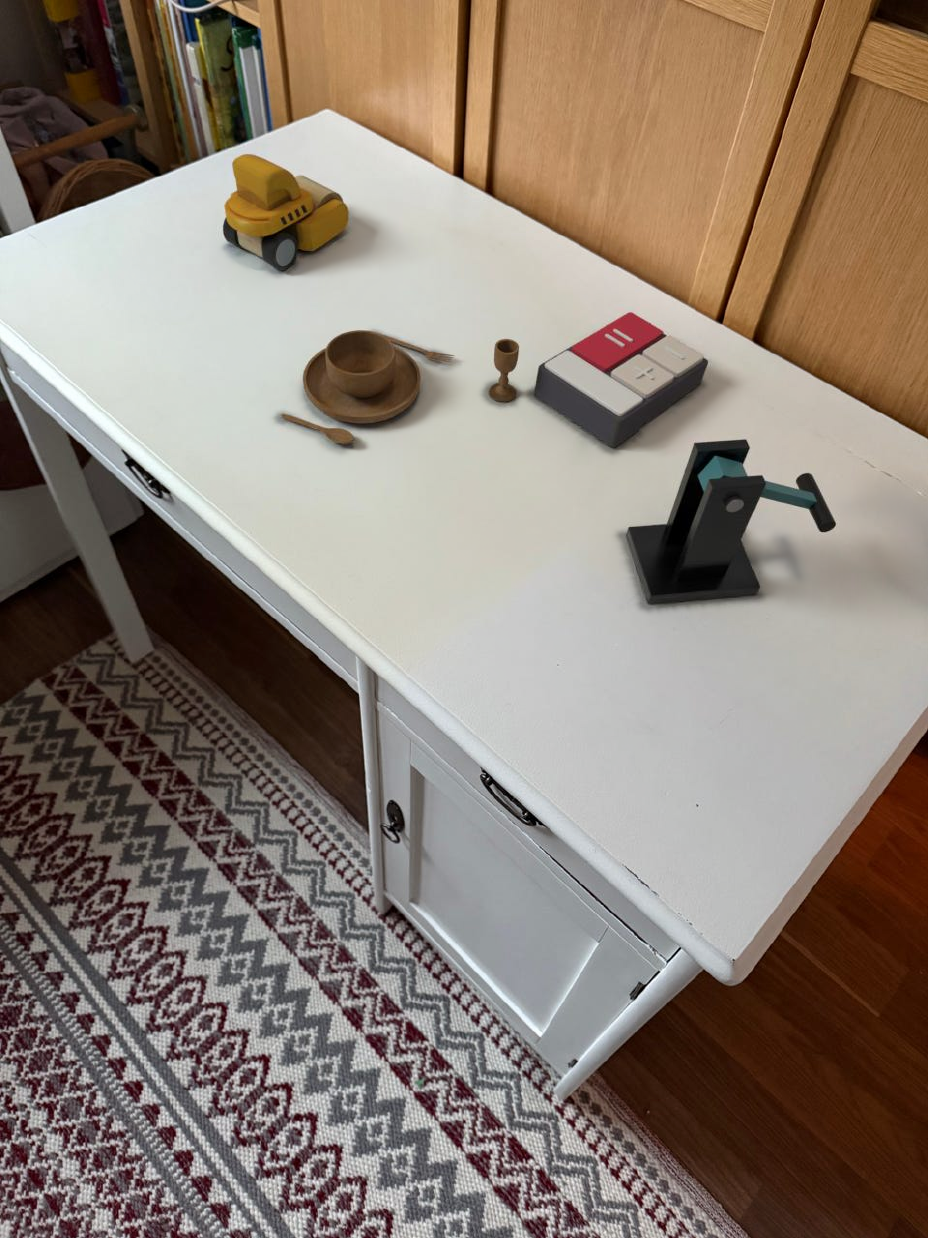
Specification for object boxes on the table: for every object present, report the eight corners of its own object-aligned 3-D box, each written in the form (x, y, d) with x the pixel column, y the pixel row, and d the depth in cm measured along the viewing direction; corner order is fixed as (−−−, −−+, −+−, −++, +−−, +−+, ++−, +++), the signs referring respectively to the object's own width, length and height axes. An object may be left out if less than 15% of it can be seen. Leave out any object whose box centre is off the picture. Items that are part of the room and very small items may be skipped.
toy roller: (356, 229, 110) (351, 143, 102) (270, 282, 103) (257, 194, 95) (303, 202, 113) (294, 116, 105) (217, 252, 106) (199, 163, 98)
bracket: (729, 527, 85) (773, 423, 74) (756, 594, 80) (807, 495, 70) (625, 535, 84) (655, 431, 73) (647, 604, 79) (683, 504, 69)
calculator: (712, 354, 94) (622, 415, 86) (700, 388, 97) (613, 449, 90) (630, 305, 98) (537, 359, 91) (621, 339, 101) (531, 394, 94)
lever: (800, 489, 80) (819, 470, 78) (823, 537, 77) (844, 519, 75) (691, 460, 75) (708, 440, 73) (711, 511, 72) (730, 490, 70)
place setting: (359, 324, 100) (357, 276, 95) (522, 387, 95) (528, 340, 90) (266, 418, 91) (258, 370, 86) (441, 492, 86) (443, 447, 81)
